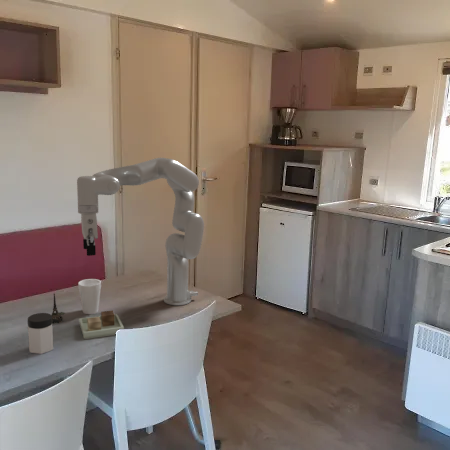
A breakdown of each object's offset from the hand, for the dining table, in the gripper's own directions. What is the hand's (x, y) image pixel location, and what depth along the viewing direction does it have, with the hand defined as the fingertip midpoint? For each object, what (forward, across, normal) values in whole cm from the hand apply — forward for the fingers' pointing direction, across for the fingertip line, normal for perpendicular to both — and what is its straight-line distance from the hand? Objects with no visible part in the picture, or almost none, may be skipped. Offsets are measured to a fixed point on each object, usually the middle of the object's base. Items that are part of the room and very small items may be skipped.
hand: (89, 251), depth 186 cm
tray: (+30, -6, -3) cm, 31 cm away
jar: (+31, -15, +20) cm, 39 cm away
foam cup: (+31, +14, -2) cm, 34 cm away
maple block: (+30, -8, 0) cm, 31 cm away
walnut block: (+30, -3, -6) cm, 30 cm away
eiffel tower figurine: (+31, +9, +13) cm, 35 cm away
